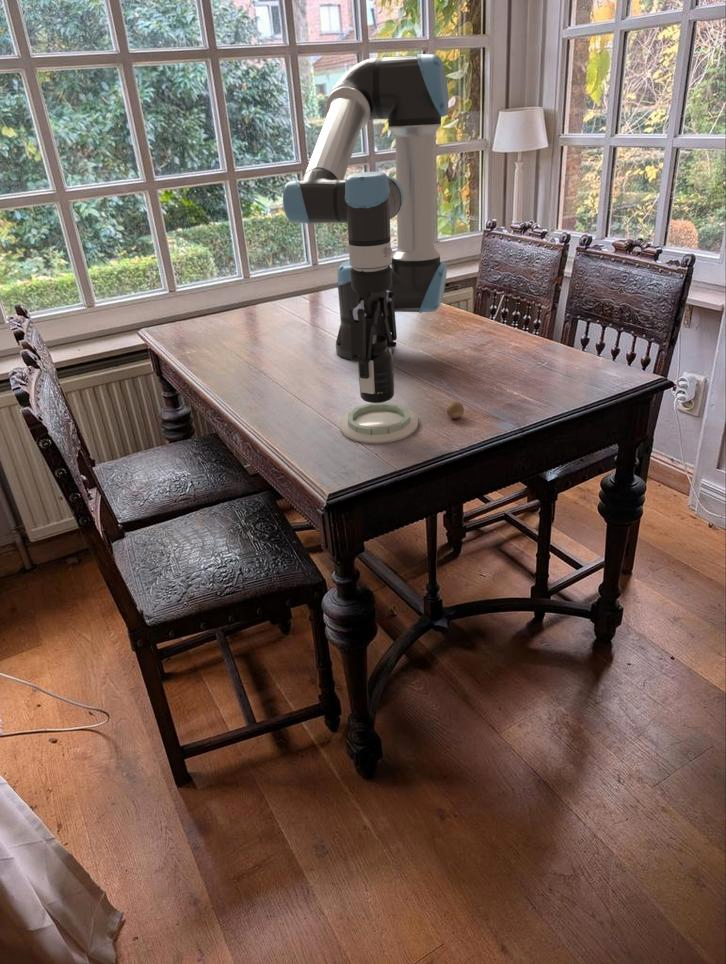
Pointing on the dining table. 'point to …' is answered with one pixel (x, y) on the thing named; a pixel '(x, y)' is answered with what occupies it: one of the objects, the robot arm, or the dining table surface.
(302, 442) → the dining table surface
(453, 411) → the wooden bead
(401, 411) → the plate
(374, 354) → the supplement bottle
